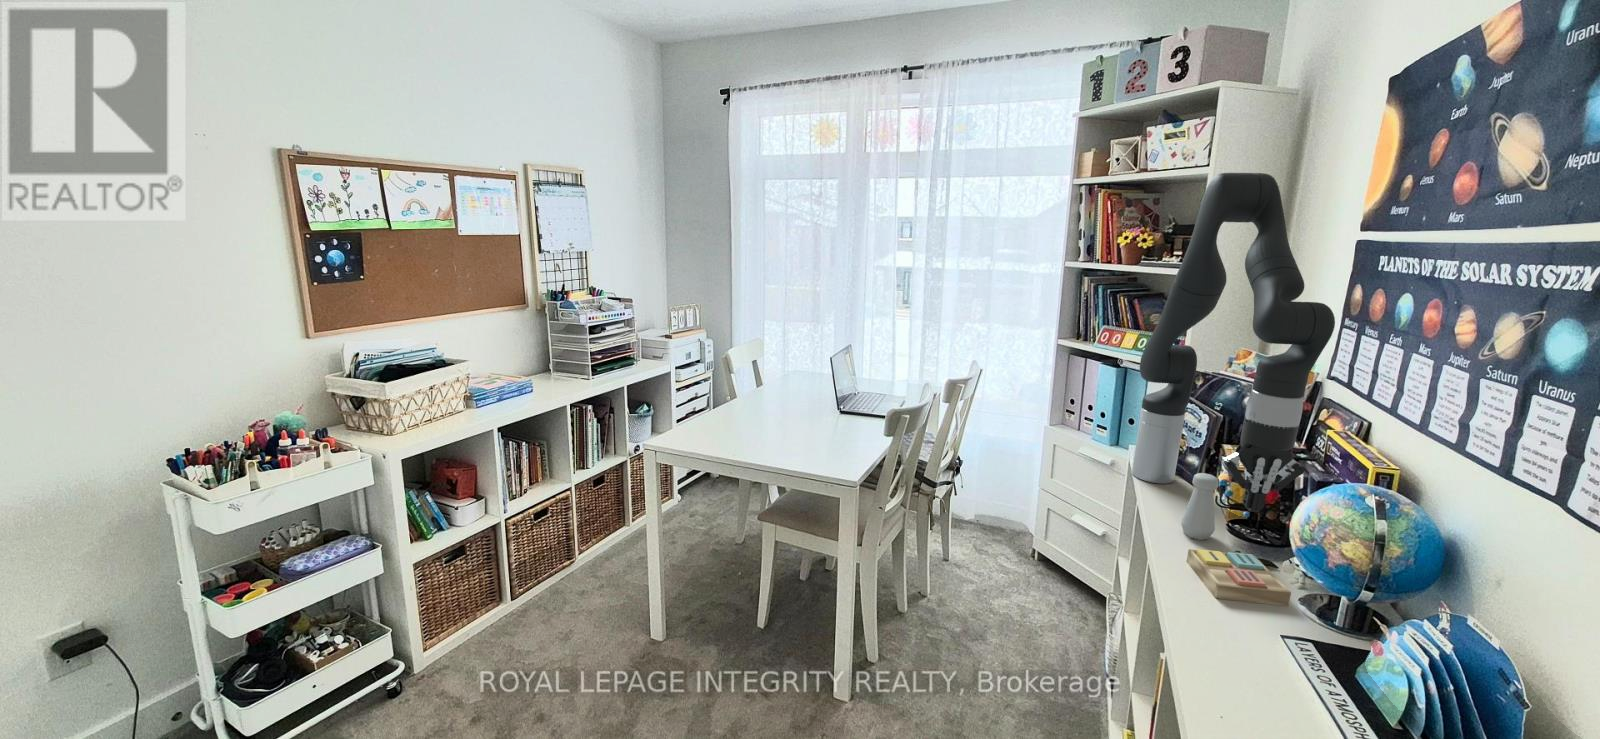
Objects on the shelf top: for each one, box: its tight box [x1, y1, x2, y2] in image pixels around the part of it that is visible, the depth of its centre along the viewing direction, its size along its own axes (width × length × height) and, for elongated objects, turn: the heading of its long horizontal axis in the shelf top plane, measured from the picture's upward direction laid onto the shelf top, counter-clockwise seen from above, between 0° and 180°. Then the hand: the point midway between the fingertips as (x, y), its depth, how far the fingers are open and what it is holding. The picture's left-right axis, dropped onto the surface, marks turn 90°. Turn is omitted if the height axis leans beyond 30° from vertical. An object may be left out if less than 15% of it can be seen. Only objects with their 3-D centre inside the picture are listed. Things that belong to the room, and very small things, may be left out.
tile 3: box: [1227, 568, 1265, 588], centre depth 107 cm, size 4×4×2 cm
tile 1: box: [1195, 548, 1231, 567], centre depth 113 cm, size 4×4×2 cm
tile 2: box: [1226, 551, 1265, 570], centre depth 112 cm, size 4×4×2 cm
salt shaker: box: [1180, 472, 1219, 541], centre depth 125 cm, size 6×6×13 cm
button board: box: [1186, 548, 1292, 607], centre depth 110 cm, size 12×11×2 cm
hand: (1251, 509), depth 111 cm, fingers closed
